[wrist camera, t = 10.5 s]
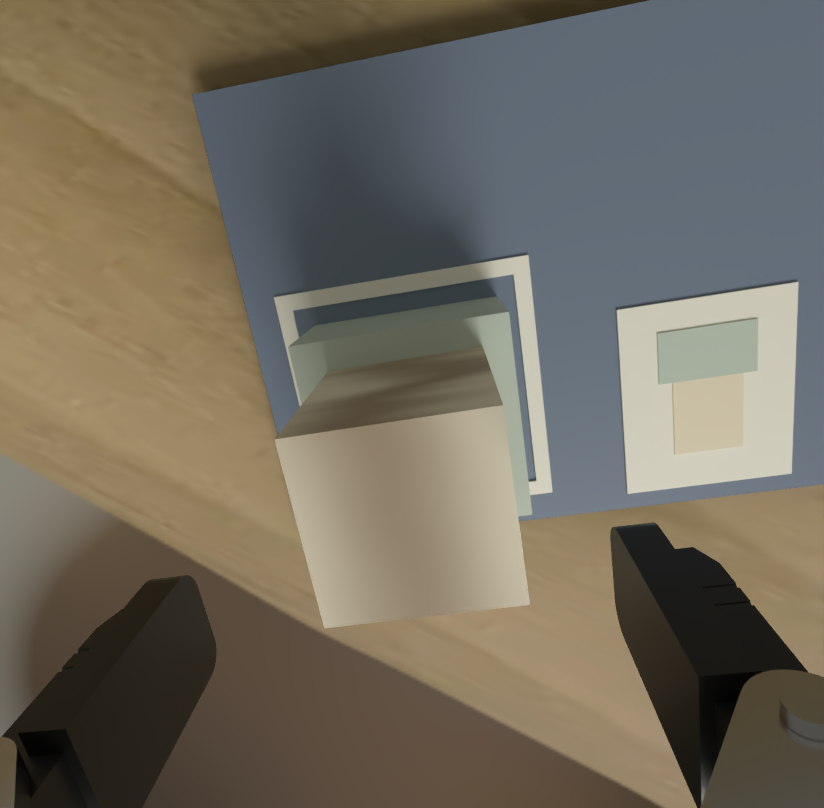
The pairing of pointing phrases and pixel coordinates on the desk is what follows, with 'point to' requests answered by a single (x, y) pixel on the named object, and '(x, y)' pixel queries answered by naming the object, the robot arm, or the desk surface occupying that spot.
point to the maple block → (405, 490)
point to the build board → (566, 231)
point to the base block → (418, 338)
